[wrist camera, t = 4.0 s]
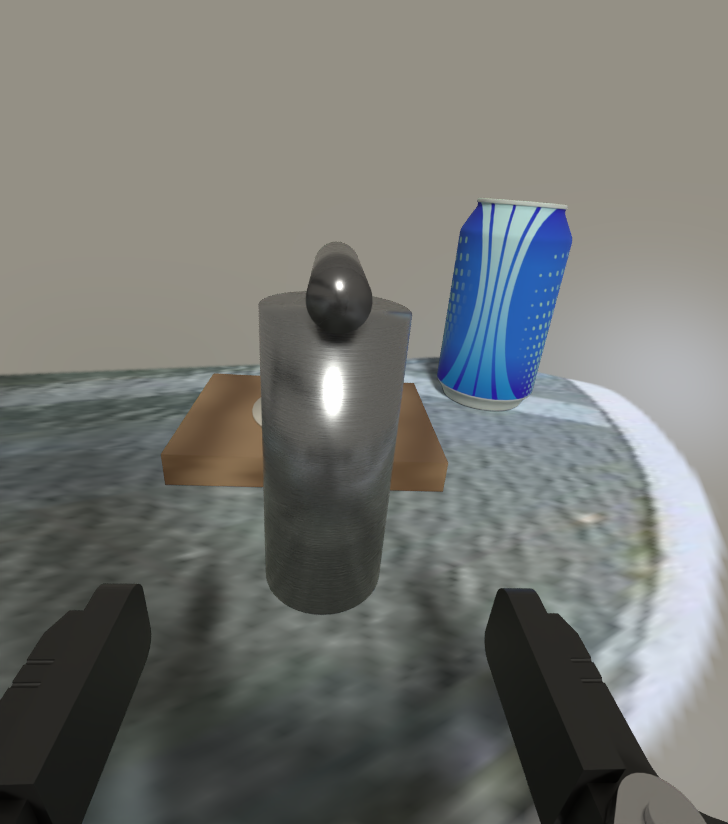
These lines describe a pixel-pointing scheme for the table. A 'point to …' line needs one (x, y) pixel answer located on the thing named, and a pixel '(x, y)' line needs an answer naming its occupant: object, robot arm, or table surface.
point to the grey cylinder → (329, 432)
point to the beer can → (502, 301)
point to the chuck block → (242, 440)
